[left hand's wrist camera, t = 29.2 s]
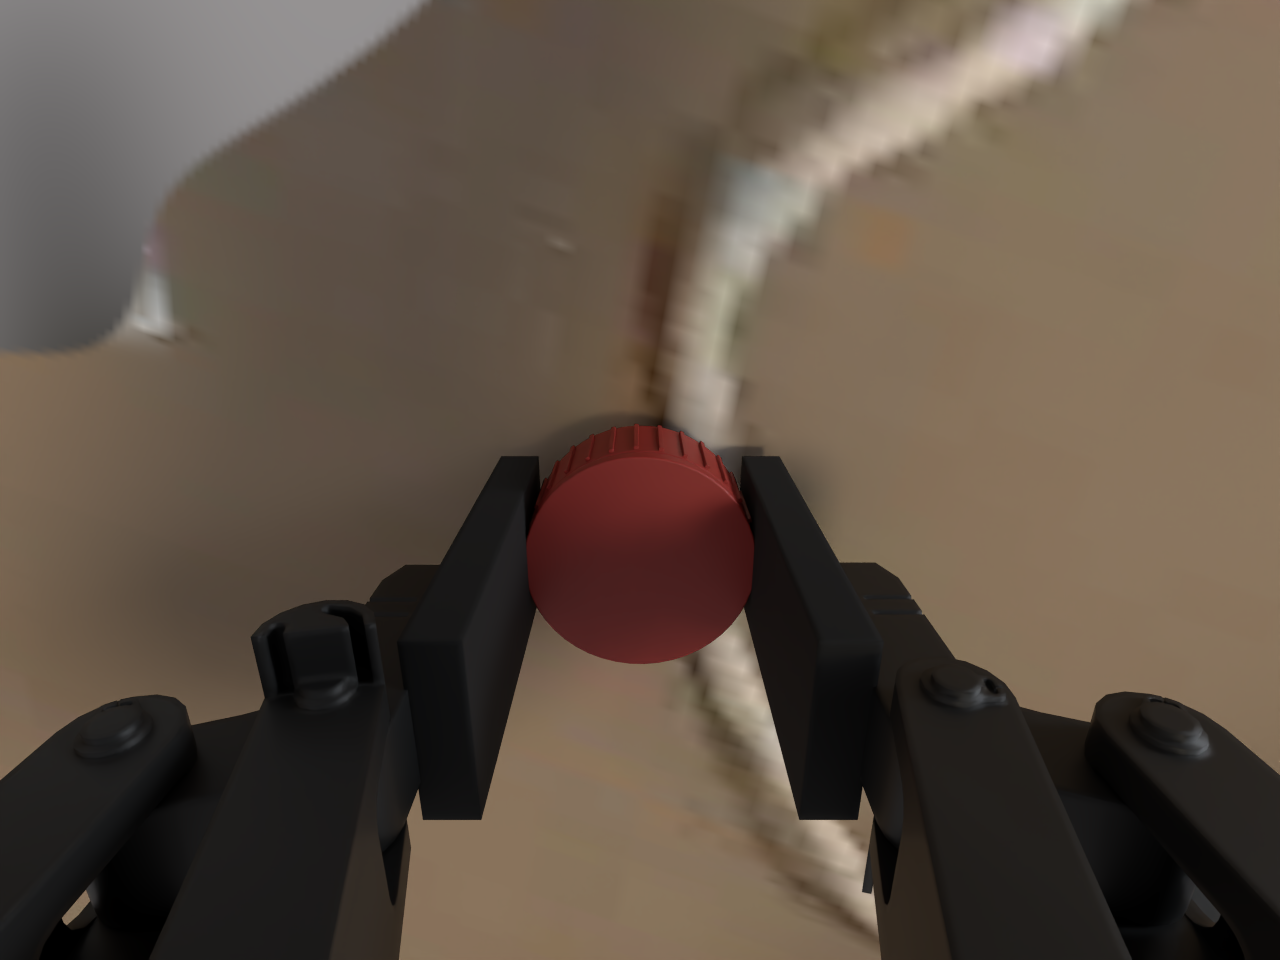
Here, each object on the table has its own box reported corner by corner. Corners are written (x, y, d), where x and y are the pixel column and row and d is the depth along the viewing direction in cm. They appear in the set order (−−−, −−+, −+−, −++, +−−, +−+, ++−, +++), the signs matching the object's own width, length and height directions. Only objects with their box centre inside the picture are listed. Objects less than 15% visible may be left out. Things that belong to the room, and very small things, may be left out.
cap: (747, 418, 14) (763, 449, 12) (743, 610, 15) (757, 664, 13) (526, 426, 14) (509, 457, 12) (544, 616, 15) (532, 670, 14)
